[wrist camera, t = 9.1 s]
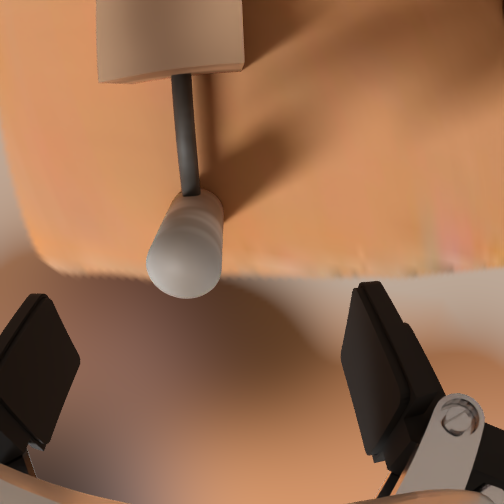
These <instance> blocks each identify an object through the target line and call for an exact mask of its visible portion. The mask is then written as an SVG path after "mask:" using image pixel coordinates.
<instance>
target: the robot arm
mask: <svg viewBox="0 0 504 504" xmlns="http://www.w3.org/2000/svg"><path fill="white" fill-rule="evenodd" d="M341 362H342V366H343V370H344V373H345V376H346V380H347V384H348V387H349V391H350V395H351V398H352V402H353V406H354V409H355V413H356V417H357V421H358V424H359V428H360V432H361V436H362V440H363V444H364V448H365V451H366V453H367V455H372V457H373V460H374V463H376V462H381V461H385V462H386V465H387V469H388V470H389V473H388V475H387V477H386V478H385V480H384V482H383V484H382V485H381V487H380V489H379V491H378V492H377V494H376V496H375V497H374V499H371V500H366V501H359V502H354V503H349V504H504V430H501V429H499V428H497V427H494V426H492V425H490V424H487V423H485V422H484V420H485V417H484V413H483V410H482V408H481V407H480V405H479V403H477V402H476V401H475V400H474V399H473V398H471V397H469V396H467V395H464V394H460V393H457V394H450V395H447V396H446V395H445V393H444V391H443V389H442V387H441V384H440V382H439V380H438V379H437V376H436V374H435V372H434V370H433V368H432V367H431V364H430V362H429V360H428V359H427V357H426V355H425V353H424V351H423V349H422V347H421V345H420V343H419V341H418V339H417V338H416V336H415V334H414V333H413V330H412V329H411V327H410V326H409V324H407V323H403V321H402V319H401V317H400V315H399V314H398V312H397V310H396V308H395V306H394V305H393V303H392V301H391V299H390V298H389V296H388V294H387V292H386V291H385V289H384V287H383V285H382V284H381V282H379V281H373V282H361V283H360V284H359V286H358V288H354V289H353V291H352V297H351V303H350V309H349V315H348V319H347V325H346V330H345V335H344V340H343V345H342V350H341ZM79 365H80V357H79V354H78V353H77V351H76V349H75V347H74V345H73V343H72V341H71V339H70V337H69V335H68V333H67V331H66V329H65V327H64V325H63V323H62V321H61V319H60V317H59V315H58V313H57V310H56V308H55V306H54V304H53V302H52V300H50V299H49V298H48V296H47V295H46V294H30V295H29V296H28V297H27V298H26V300H25V301H24V302H23V304H22V305H21V307H20V308H19V309H18V310H17V312H16V313H15V315H14V316H13V317H12V319H11V320H10V322H9V323H8V325H7V326H6V327H5V329H4V330H3V332H2V334H1V335H0V504H129V503H124V502H119V501H114V500H110V499H105V498H101V497H97V496H93V495H89V494H85V493H82V492H78V491H75V490H71V489H68V488H65V487H61V486H58V485H55V484H52V483H49V482H46V481H43V480H41V479H38V478H37V476H36V473H35V471H34V468H33V465H32V462H31V459H30V456H29V453H28V450H27V445H28V444H29V445H30V446H31V447H32V448H35V449H38V450H42V451H44V449H45V447H46V444H47V443H49V442H50V440H51V436H52V434H53V431H54V428H55V426H56V423H57V420H58V418H59V415H60V412H61V410H62V407H63V405H64V402H65V399H66V397H67V394H68V392H69V390H70V387H71V385H72V382H73V380H74V377H75V375H76V373H77V370H78V368H79Z"/></svg>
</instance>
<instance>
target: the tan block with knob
mask: <svg viewBox="0 0 504 504" xmlns="http://www.w3.org/2000/svg"><path fill="white" fill-rule="evenodd" d="M96 45H97V67H98V82H99V83H119V84H136V83H141V82H147V81H153V80H160V79H167V78H171V81H172V95H173V108H174V120H175V131H176V142H177V152H178V162H179V171H180V180H181V188H182V192H181V193H179V194H178V195H177V196H176V197H175V198H174V200H173V201H172V203H171V205H170V207H169V209H168V211H167V213H166V215H165V217H164V220H163V222H162V224H161V226H160V228H159V230H158V232H157V234H156V236H155V239H154V241H153V243H152V245H151V247H150V249H149V252H148V255H147V259H146V267H147V271H148V274H149V277H150V278H151V280H152V282H153V283H154V284H155V285H156V286H157V287H158V288H159V289H160V290H162V291H163V292H165V293H167V294H169V295H171V296H174V297H178V298H195V297H199V296H202V295H204V294H206V293H207V292H209V291H210V290H211V289H213V288H214V287H215V285H216V284H217V282H218V281H219V278H220V275H221V270H222V244H223V220H224V211H223V207H222V204H221V202H220V200H219V199H218V198H217V197H216V196H215V195H214V194H213V193H211V192H210V191H208V190H205V189H201V188H200V180H199V170H198V159H197V147H196V135H195V123H194V109H193V95H192V79H191V75H201V74H212V73H225V72H241V70H242V68H243V65H244V63H245V59H244V38H243V16H242V0H96Z"/></svg>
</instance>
